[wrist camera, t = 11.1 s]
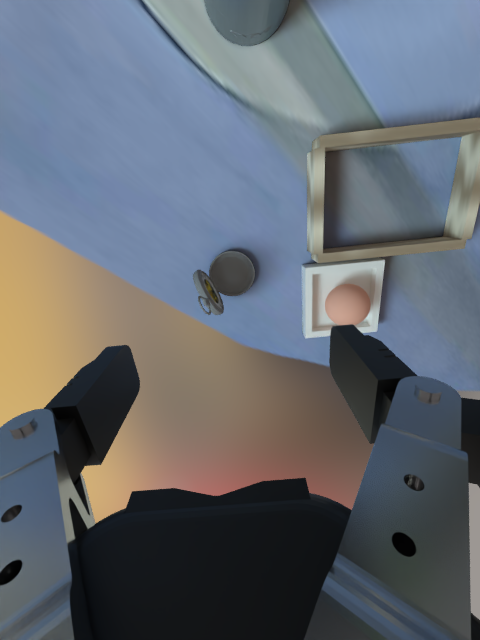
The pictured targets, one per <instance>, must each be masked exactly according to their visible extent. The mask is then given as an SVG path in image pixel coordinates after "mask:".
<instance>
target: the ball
mask: <svg viewBox="0 0 480 640" xmlns="http://www.w3.org/2000/svg"><path fill="white" fill-rule="evenodd" d="M370 308H371V302H370V298H369V296H368V294H367V292H366V291H365V290H364V289H362V288H361V287H359V286H357V285H354V284H342V285H339V286H337V287H335V288H334V289H333V290H332V291H331V292H330V293H329V294H328V296H327V298H326V301H325V310H326V313H327V315H328V317H329V318H330V319H331V320H332V321H333V322H334V323H336V324H338V325H350V324H353V325H357V324H359V323H361V322H362V321H363V320H364V319H365V318H366V317H367V316H368V314H369V312H370Z"/></svg>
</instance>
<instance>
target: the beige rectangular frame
mask: <svg viewBox="0 0 480 640" xmlns="http://www.w3.org/2000/svg"><path fill="white" fill-rule="evenodd" d="M454 137H462V139H461V144H460V150H459V155H458V160H457V165H456V171H455V176H454V181H453V186H452V192H451V197H450V202H449V207H448V213H447V218H446V223H445V228H444V234H443V237H434V238H424V239H415V240H405V241H395V242H385V243H375V244H366V245H356V246H346V247H336V248H326V249H323V222H324V177H325V152H329V151H338V150H347V149H356V148H365V147H374V146H383V145H392V144H401V143H410V142H419V141H428V140H436V139H445V138H454ZM479 203H480V118H471V119H462V120H454V121H445V122H436V123H427V124H418V125H410V126H401V127H392V128H383V129H374V130H365V131H357V132H348V133H339V134H330V135H321V136H319V137H318V138H317V139H315V140H314V141H313V142H312V151H311V152H309V153H308V154H307V251H309V252H310V253H311V258H312V259H313V260H314V261H316V262H317V263H325V262H335V261H345V260H355V259H365V258H375V257H385V256H395V255H405V254H415V253H425V252H435V251H445V250H454V249H464V248H465V244H466V240H467V239H471V238H472V233H473V229H474V225H475V220H476V216H477V212H478V207H479Z"/></svg>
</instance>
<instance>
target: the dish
mask: <svg viewBox="0 0 480 640" xmlns="http://www.w3.org/2000/svg"><path fill="white" fill-rule="evenodd" d="M384 265H385V260H384V259H381V258H378V257H375V258H365V259H355V260H345V261H335V262H325V263H315V264H305V265H302V332H303V334H304V336H305V338H313V337H324V336H330V335H331V328H332V326H339V325H338V324H336V323H334V322H333V321H332V320H331V319H330V318H329V317H328V315H327V313H326V310H325V301H326V298H327V296H328V294H329V293H330V292H331V291H332V290H333V289H334V288H335V287H337V286H339V285H342V284H354V285H357V286H359V287H361V288H362V289H364V290H365V291H366V292H367V294H368V296H369V298H370V302H371V308H370V312H369V314H368V316H367V317H366V318H365V319H364V320H363V321H362V322H361V323H359V324H357V325H354V326H355V327H356V328H357V329H358V330H359V331H360V332H361V333H367V332H377V327H378V319H379V310H380V301H381V292H382V283H383V274H384Z"/></svg>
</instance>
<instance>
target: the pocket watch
mask: <svg viewBox="0 0 480 640" xmlns="http://www.w3.org/2000/svg"><path fill="white" fill-rule="evenodd" d="M209 277H210V278H209ZM254 278H255V269H254V266H253V263H252V262H251V260H250V259H249V258H248V257H247V256H246V255H245V254H243V253H241V252H238V251H226V252H223V253H221V254H219V255H218V256H217V257H216V258H215V259H214V260H213V262H212V263H211V266H210V270H209V276H208V275H207V274H206V273H205V272H203V271H201V270H197V271H196V272H195V273H194V274H193V280H194V283H195V286H196V289H197V291H198V293H199V295H200V296H199V297H198V302H199V304H200V306H201V308H202V310H203V311H204V312H205V313H206V314H208V315H210V314H211V312H212V313H213V314H215V315H220V314H222V313H223V312H224V311H223V310H224V306H223V302H222V299H221V297H220V294H219V292H220V293H222V294H224V295H227V296H238V295H241V294H243V293H245V292H246V291H247V290H248V289H249V288H250V287H251V286H252V284H253V282H254ZM200 298H202V300H203V303H204V305H205V306H206V307H208V309H209V313H208V312H206V311H205V309H204V308H203V307H202V304H201V302H200Z"/></svg>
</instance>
